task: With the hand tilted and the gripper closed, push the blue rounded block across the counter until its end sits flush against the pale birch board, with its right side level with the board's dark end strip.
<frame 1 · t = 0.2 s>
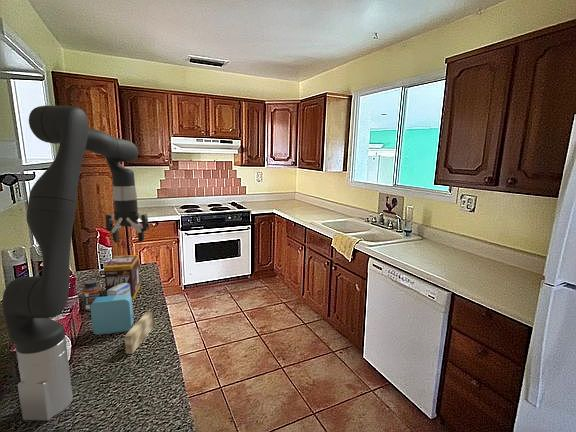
hand: (129, 242, 116), 29 cm above the worktop, tool pointing down, fingers open, 8 cm apart
blue rounded block: (114, 330, 112), on the worktop
supplement bottle: (92, 308, 127), on the worktop
medicine box: (120, 307, 129), on the worktop
birch board: (141, 339, 106), on the worktop
supplement box: (124, 294, 140), on the worktop
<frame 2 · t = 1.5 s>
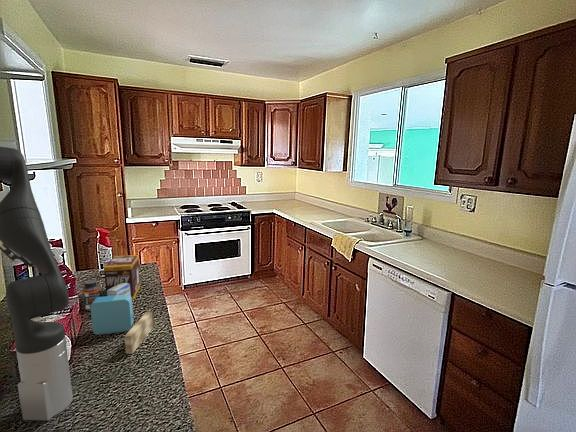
hand: (43, 260, 107), 25 cm above the worktop, tool tilted 45°, fingers open, 8 cm apart
nothing on the worktop moved.
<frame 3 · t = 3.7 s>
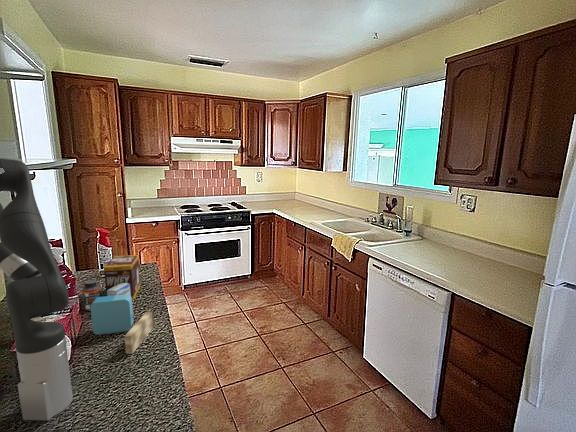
hand: (61, 302, 110), 10 cm above the worktop, tool tilted 45°, fingers closed
nothing on the worktop moved.
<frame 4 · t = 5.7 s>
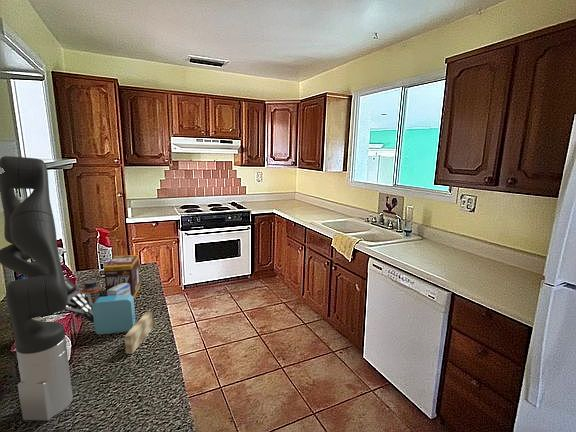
hand: (95, 319, 111), 4 cm above the worktop, tool tilted 45°, fingers closed
blue rounded block: (116, 330, 112), on the worktop, touching gripper
everything else where it was.
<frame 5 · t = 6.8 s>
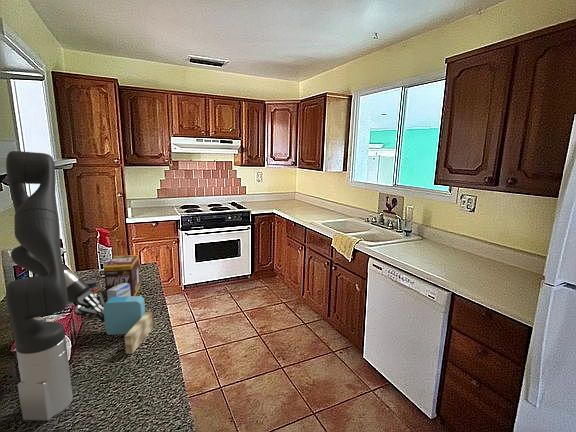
hand: (107, 319, 111), 4 cm above the worktop, tool tilted 45°, fingers closed
blue rounded block: (126, 331, 111), on the worktop, touching birch board, gripper
everything else where it was.
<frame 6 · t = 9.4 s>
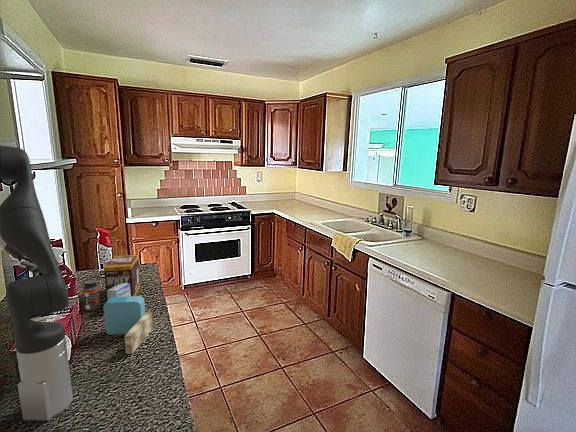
hand: (55, 276, 108), 19 cm above the worktop, tool tilted 45°, fingers closed
blue rounded block: (126, 331, 111), on the worktop
everything else where it was.
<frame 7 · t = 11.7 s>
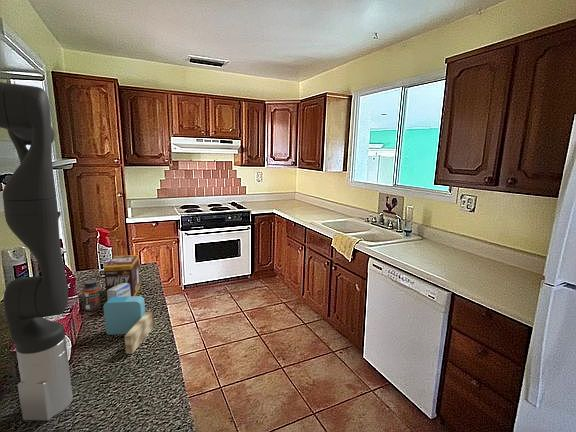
hand: (46, 243, 99), 33 cm above the worktop, tool pointing down, fingers closed
nothing on the worktop moved.
at the end: blue rounded block 0.6 cm from the target spot on the worktop beside the birch board, on the worktop; blue rounded block tilted 0° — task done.
